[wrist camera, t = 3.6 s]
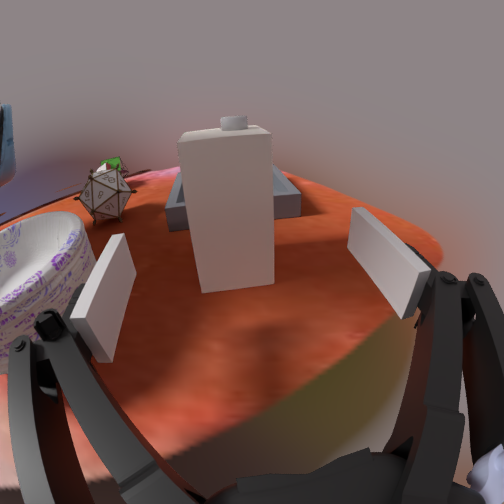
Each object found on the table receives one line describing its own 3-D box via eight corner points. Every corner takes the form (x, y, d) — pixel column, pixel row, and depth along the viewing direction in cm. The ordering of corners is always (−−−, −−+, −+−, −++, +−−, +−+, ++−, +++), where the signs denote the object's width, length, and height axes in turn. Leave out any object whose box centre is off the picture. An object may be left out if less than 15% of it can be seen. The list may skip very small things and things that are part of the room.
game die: (128, 235, 40) (154, 177, 38) (100, 244, 32) (130, 173, 30) (87, 210, 39) (111, 154, 38) (56, 214, 31) (81, 147, 29)
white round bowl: (97, 407, 13) (25, 316, 9) (-30, 387, 11) (-82, 319, 6) (127, 269, 26) (105, 195, 21) (20, 285, 23) (-6, 226, 19)
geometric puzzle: (103, 176, 53) (92, 153, 46) (131, 169, 54) (123, 145, 47) (102, 202, 51) (88, 180, 43) (131, 195, 52) (121, 172, 45)
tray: (169, 231, 32) (164, 208, 30) (180, 189, 45) (178, 172, 44) (300, 216, 33) (301, 193, 32) (272, 179, 47) (272, 162, 45)
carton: (201, 293, 22) (175, 127, 15) (201, 254, 27) (183, 121, 20) (274, 283, 23) (271, 118, 16) (261, 247, 28) (255, 113, 21)
